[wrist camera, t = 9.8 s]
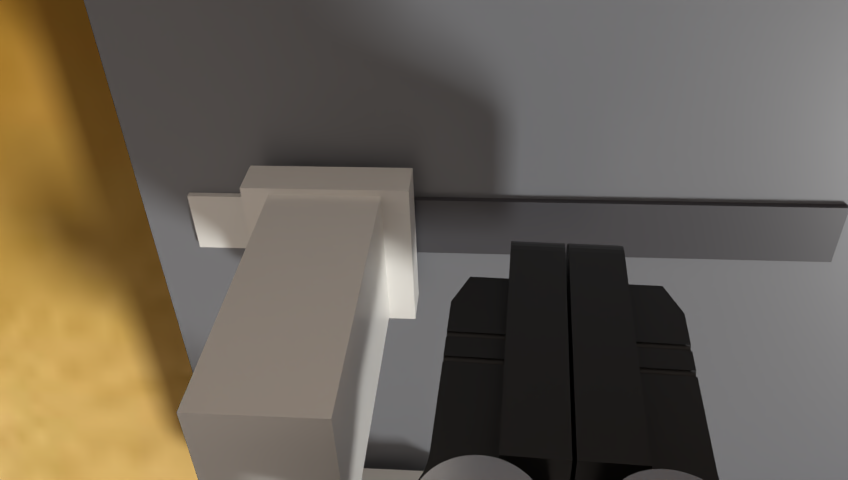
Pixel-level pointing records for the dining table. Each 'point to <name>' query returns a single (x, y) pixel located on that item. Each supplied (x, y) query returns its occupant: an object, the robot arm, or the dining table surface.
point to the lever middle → (304, 325)
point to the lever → (390, 474)
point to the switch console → (529, 173)
